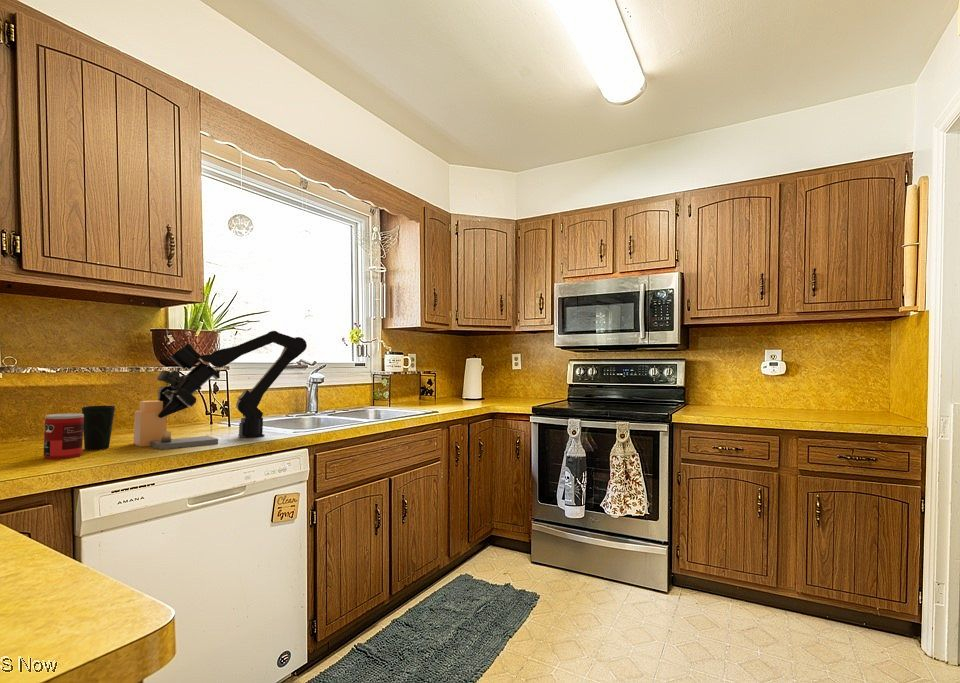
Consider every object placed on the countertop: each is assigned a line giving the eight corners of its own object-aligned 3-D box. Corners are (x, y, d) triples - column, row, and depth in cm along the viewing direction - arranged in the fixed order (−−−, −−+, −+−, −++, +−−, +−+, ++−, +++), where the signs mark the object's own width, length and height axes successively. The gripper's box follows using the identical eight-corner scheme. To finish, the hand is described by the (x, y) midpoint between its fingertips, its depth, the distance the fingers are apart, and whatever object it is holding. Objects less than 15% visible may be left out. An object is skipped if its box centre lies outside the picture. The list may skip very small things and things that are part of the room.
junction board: (207, 440, 162) (207, 426, 163) (218, 443, 156) (218, 429, 157) (149, 445, 151) (150, 430, 151) (159, 449, 145) (160, 434, 145)
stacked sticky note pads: (158, 441, 159) (160, 400, 159) (165, 444, 154) (167, 401, 155) (133, 443, 154) (135, 401, 154) (139, 446, 149) (141, 402, 150)
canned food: (49, 454, 135) (51, 413, 135) (86, 453, 138) (88, 412, 138) (37, 460, 128) (40, 416, 128) (76, 458, 131) (79, 416, 131)
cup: (75, 451, 140) (77, 408, 140) (85, 447, 147) (87, 405, 147) (108, 450, 143) (110, 407, 143) (116, 445, 150) (118, 405, 150)
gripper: (167, 361, 166) (125, 395, 157) (186, 362, 153) (142, 399, 145) (191, 384, 172) (152, 419, 163) (213, 387, 159) (171, 425, 150)
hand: (154, 415), depth 155 cm, fingers open, 9 cm apart
